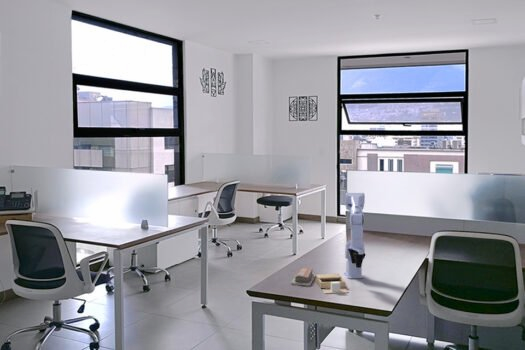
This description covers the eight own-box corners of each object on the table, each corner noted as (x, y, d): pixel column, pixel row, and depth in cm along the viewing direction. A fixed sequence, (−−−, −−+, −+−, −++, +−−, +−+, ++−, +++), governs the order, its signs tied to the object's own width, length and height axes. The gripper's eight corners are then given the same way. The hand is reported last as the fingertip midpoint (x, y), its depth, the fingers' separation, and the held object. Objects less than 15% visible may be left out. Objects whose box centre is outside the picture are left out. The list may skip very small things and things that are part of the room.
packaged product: (297, 266, 267) (315, 267, 265) (297, 275, 268) (315, 276, 265) (290, 275, 250) (310, 277, 247) (290, 285, 250) (310, 286, 248)
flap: (321, 290, 242) (322, 281, 241) (345, 290, 243) (345, 280, 242) (324, 294, 236) (324, 284, 236) (348, 293, 237) (349, 283, 237)
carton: (315, 281, 255) (315, 274, 255) (338, 280, 256) (338, 273, 256) (320, 288, 243) (320, 281, 243) (345, 287, 245) (345, 280, 244)
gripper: (344, 235, 252) (344, 261, 253) (353, 241, 237) (352, 269, 239) (358, 234, 253) (358, 261, 254) (367, 241, 238) (367, 269, 239)
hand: (356, 265), depth 246 cm, fingers open, 7 cm apart
